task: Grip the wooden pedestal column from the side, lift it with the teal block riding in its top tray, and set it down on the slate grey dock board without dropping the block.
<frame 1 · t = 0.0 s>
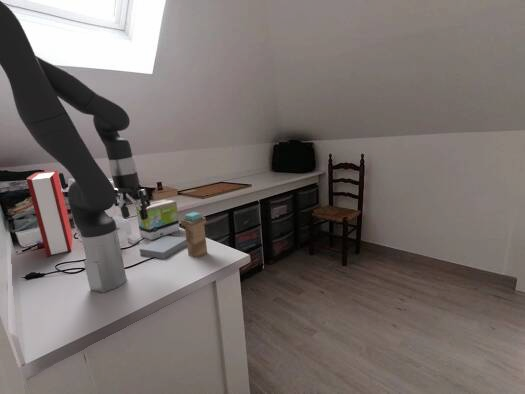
hand: (135, 218, 93), 17 cm above the table, tool pointing down, fingers open, 8 cm apart
teal block: (193, 221, 99), point 13 cm above the table, touching wooden pedestal column
wooden pedestal column: (197, 254, 102), on the table, touching teal block
tea box: (160, 233, 128), on the table
dock: (165, 249, 109), on the table
book: (61, 245, 122), on the table
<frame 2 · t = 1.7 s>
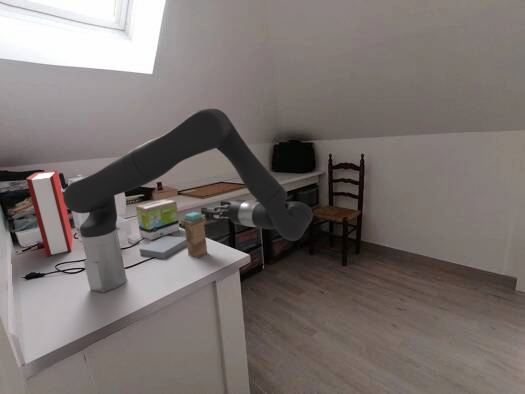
hand: (211, 207, 91), 20 cm above the table, tool horizontal, fingers open, 8 cm apart
nothing on the table moved.
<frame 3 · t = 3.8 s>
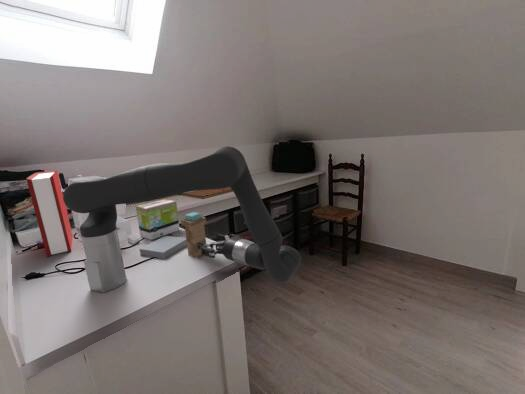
hand: (208, 240, 96), 7 cm above the table, tool horizontal, fingers open, 8 cm apart
nothing on the table moved.
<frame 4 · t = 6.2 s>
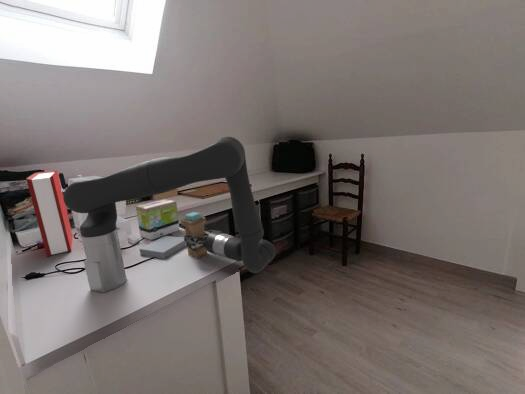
hand: (191, 235, 102), 7 cm above the table, tool horizontal, fingers closed on wooden pedestal column, 5 cm apart
wooden pedestal column: (197, 254, 102), on the table, touching gripper, teal block
everything else where it was.
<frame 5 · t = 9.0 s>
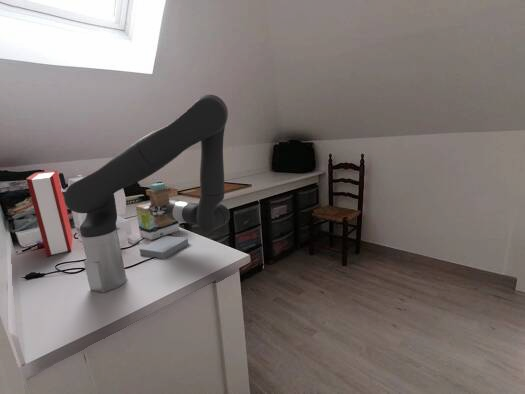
hand: (157, 205, 106), 18 cm above the table, tool horizontal, fingers closed on wooden pedestal column, 5 cm apart
teal block: (158, 192, 103), point 24 cm above the table, touching wooden pedestal column
wooden pedestal column: (163, 224, 106), point 11 cm above the table, touching gripper, teal block
everything else where it was.
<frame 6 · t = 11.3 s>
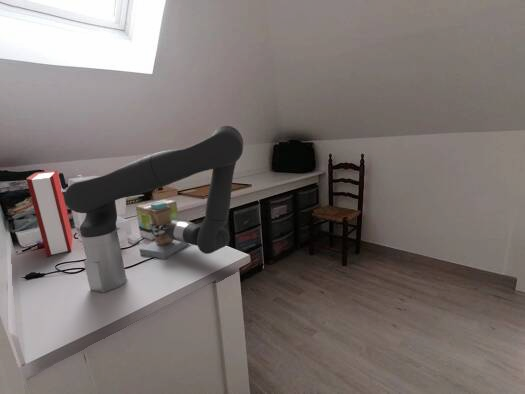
hand: (158, 224, 108), 10 cm above the table, tool horizontal, fingers closed on wooden pedestal column, 5 cm apart
teal block: (159, 211, 105), point 16 cm above the table, touching wooden pedestal column
wooden pedestal column: (164, 241, 108), point 3 cm above the table, touching gripper, teal block
everything else where it was.
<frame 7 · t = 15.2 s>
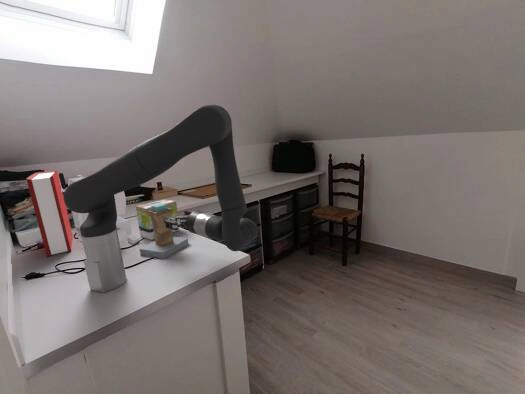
hand: (175, 216, 98), 15 cm above the table, tool horizontal, fingers open, 8 cm apart
wooden pedestal column: (164, 243, 108), point 2 cm above the table, touching dock, teal block
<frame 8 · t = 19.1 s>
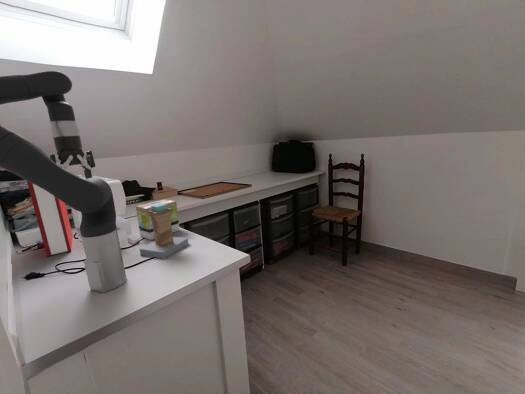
hand: (77, 182, 96), 30 cm above the table, tool pointing down, fingers open, 8 cm apart
nothing on the table moved.
at the end: wooden pedestal column 0.1 cm off-centre on the dock, point 2.5 cm above the dock's base; wooden pedestal column tilted 0°; teal block 0.0 cm off-centre on the wooden pedestal column, point 12.8 cm above the wooden pedestal column's base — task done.
